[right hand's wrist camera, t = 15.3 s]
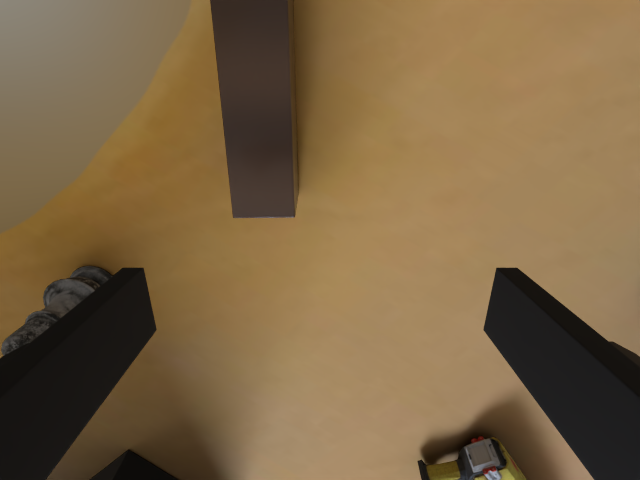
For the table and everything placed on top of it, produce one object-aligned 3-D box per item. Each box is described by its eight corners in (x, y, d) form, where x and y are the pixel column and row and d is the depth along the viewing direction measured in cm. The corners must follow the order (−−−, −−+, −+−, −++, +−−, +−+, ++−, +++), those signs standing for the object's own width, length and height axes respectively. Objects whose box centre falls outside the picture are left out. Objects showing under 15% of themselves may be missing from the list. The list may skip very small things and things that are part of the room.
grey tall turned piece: (56, 285, 37) (-53, 362, 26) (87, 253, 36) (-14, 319, 25) (101, 318, 39) (17, 404, 28) (133, 288, 38) (57, 365, 27)
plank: (213, -237, 23) (169, -384, 16) (286, -235, 23) (275, -382, 16) (249, 195, 34) (232, 218, 27) (298, 194, 34) (294, 217, 27)
